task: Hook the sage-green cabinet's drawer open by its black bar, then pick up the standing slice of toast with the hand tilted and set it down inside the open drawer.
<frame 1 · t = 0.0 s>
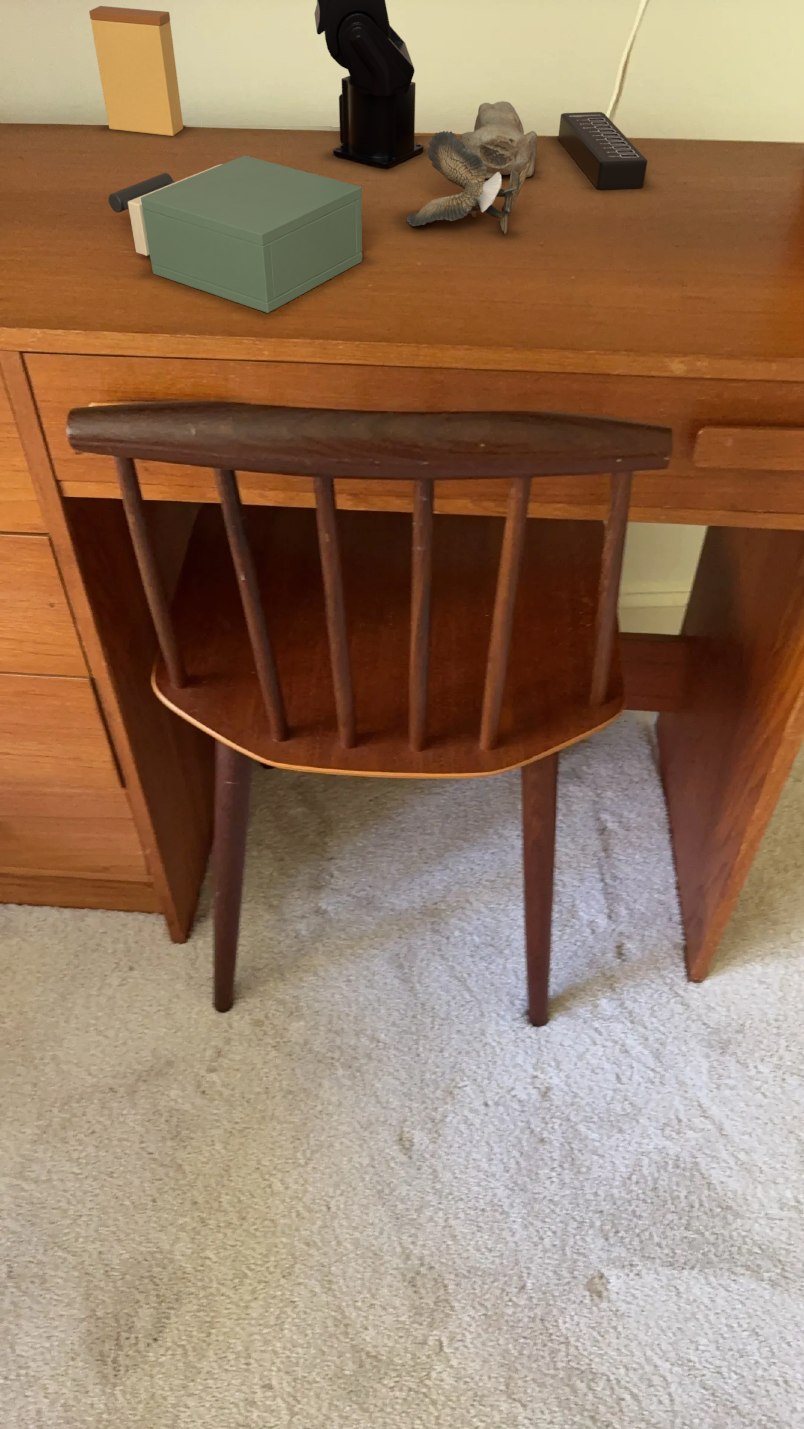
sculpture: (494, 163, 99), on the table
eagle figurine: (462, 227, 88), on the table
toast: (146, 128, 104), on the table
cabinet: (259, 267, 81), on the table
multiport hub: (598, 164, 99), on the table
drawer: (206, 215, 81), point 3 cm above the table, slide at 1.0 cm
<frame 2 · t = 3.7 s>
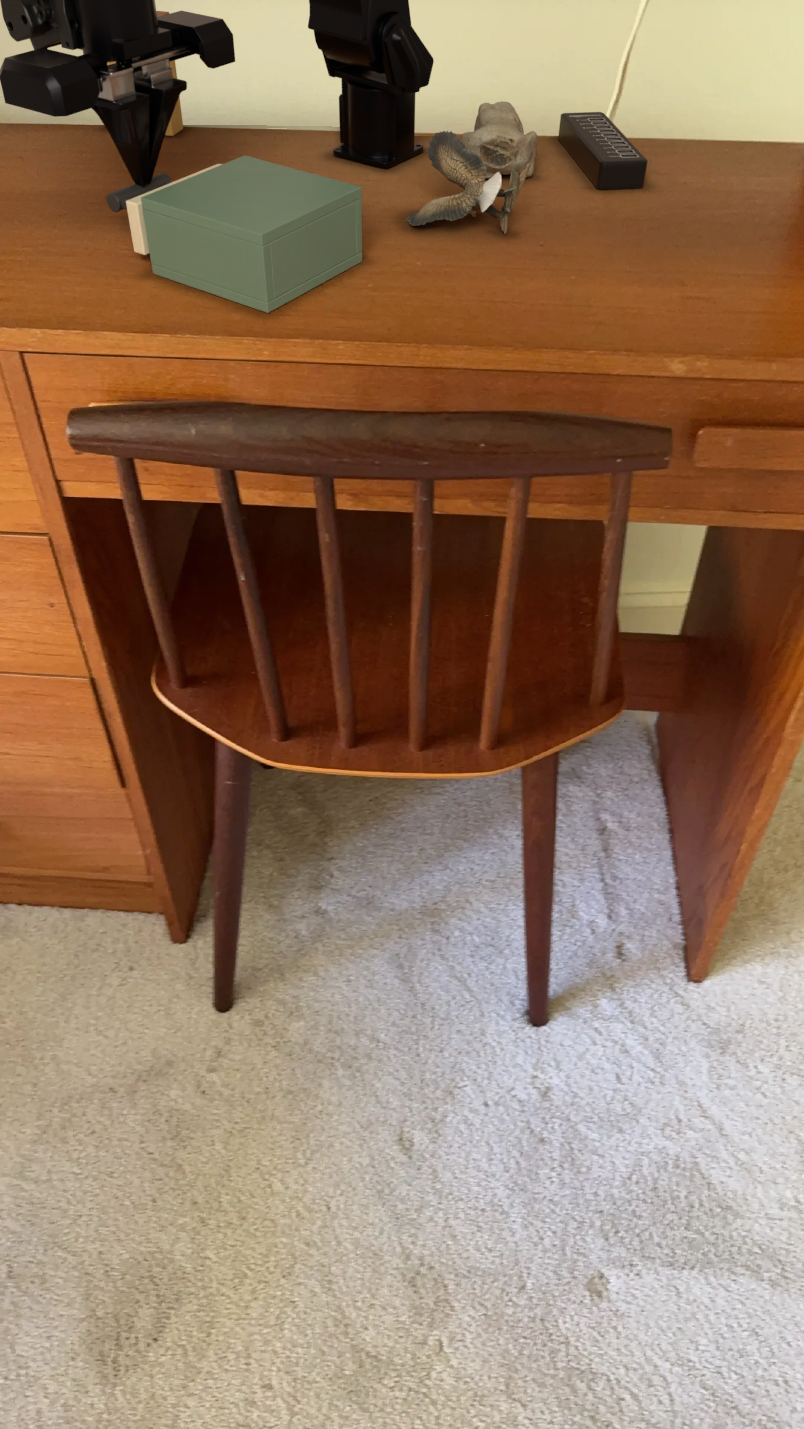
hand: (142, 183, 83), 4 cm above the table, tool pointing down, fingers closed, pressing on drawer
drawer: (204, 214, 81), point 3 cm above the table, slide at 1.2 cm, touching gripper
everything else where it was.
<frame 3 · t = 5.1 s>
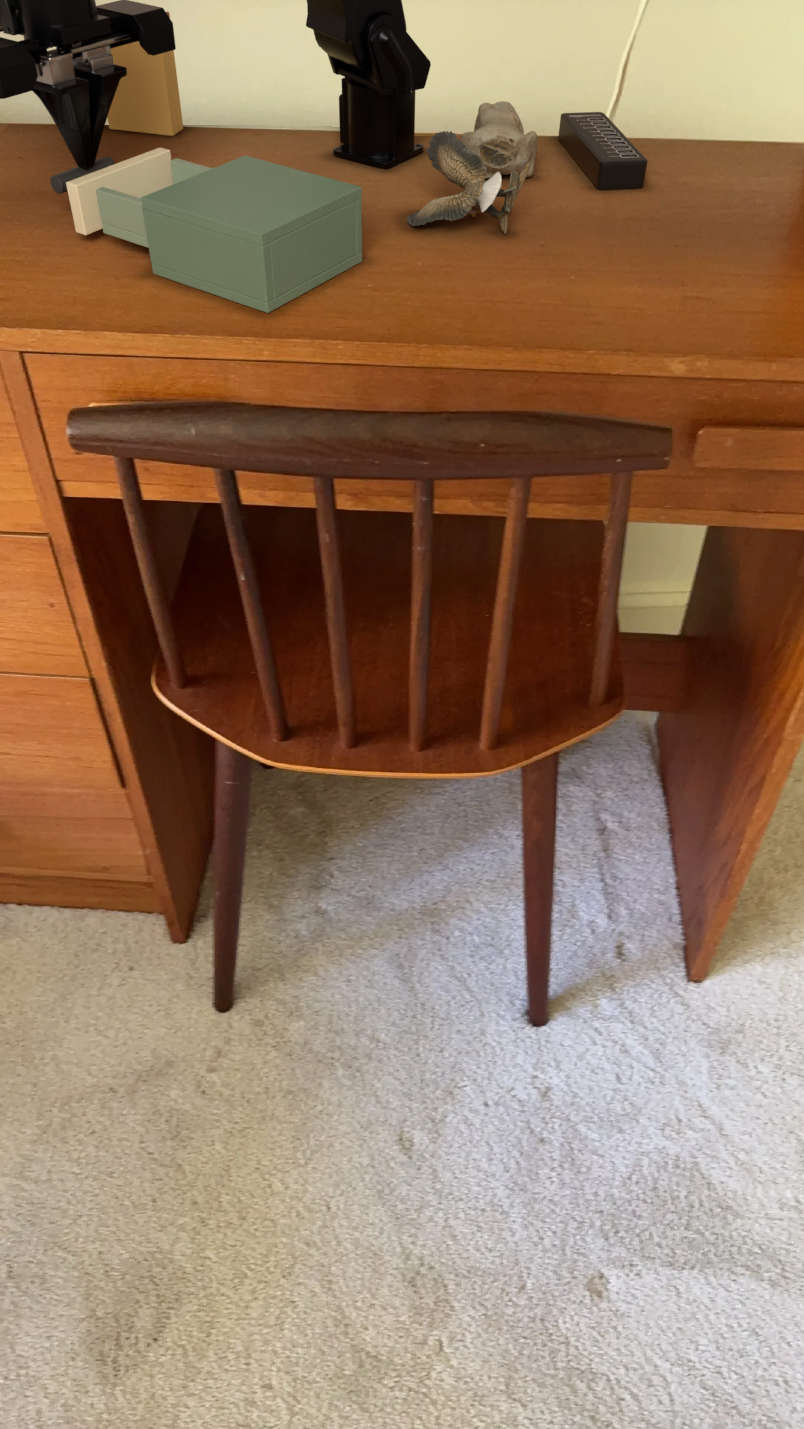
hand: (85, 167, 86), 4 cm above the table, tool pointing down, fingers closed, pressing on drawer
drawer: (144, 196, 84), point 3 cm above the table, slide at 7.7 cm, touching gripper
everything else where it was.
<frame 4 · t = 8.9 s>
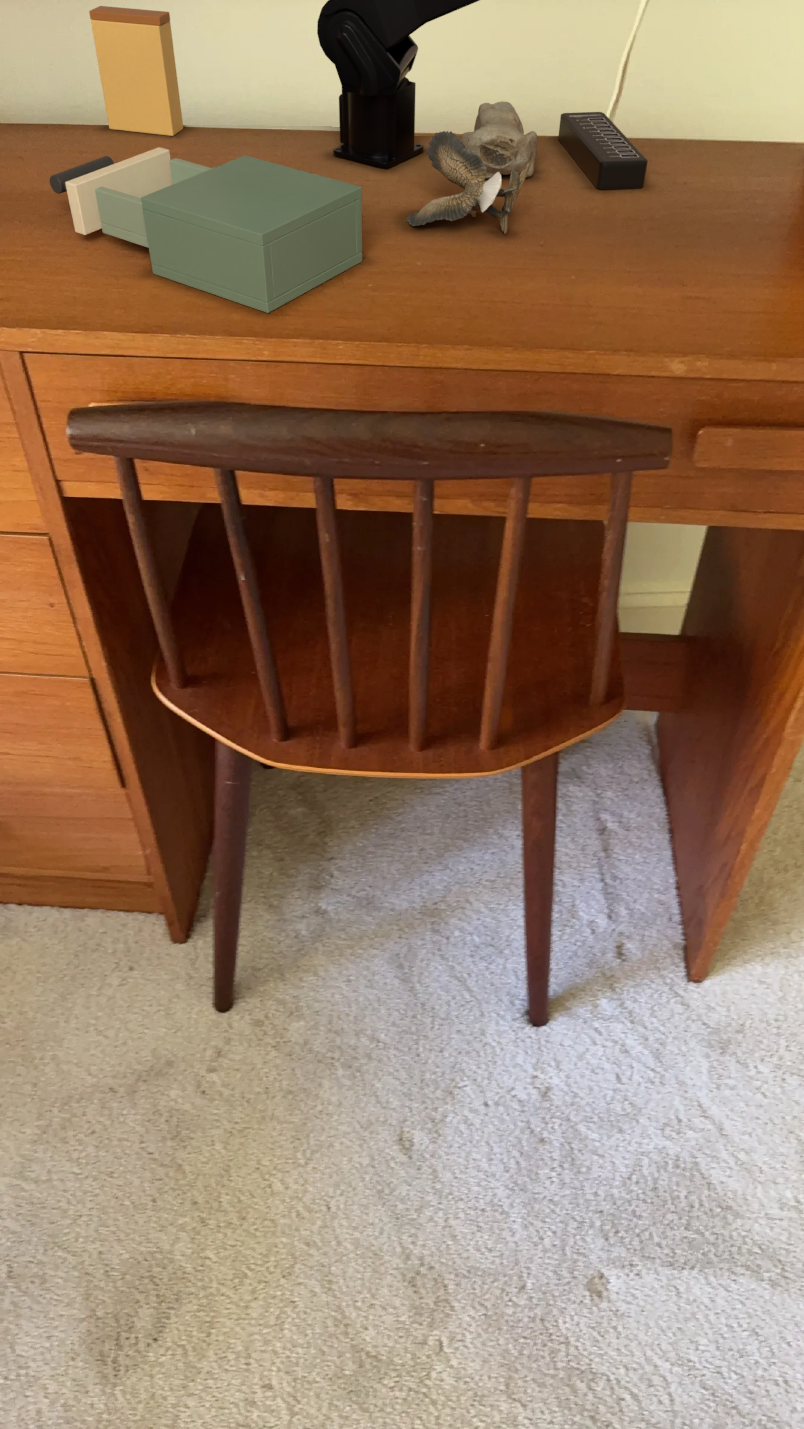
drawer: (143, 196, 84), point 3 cm above the table, slide at 7.8 cm
everything else where it was.
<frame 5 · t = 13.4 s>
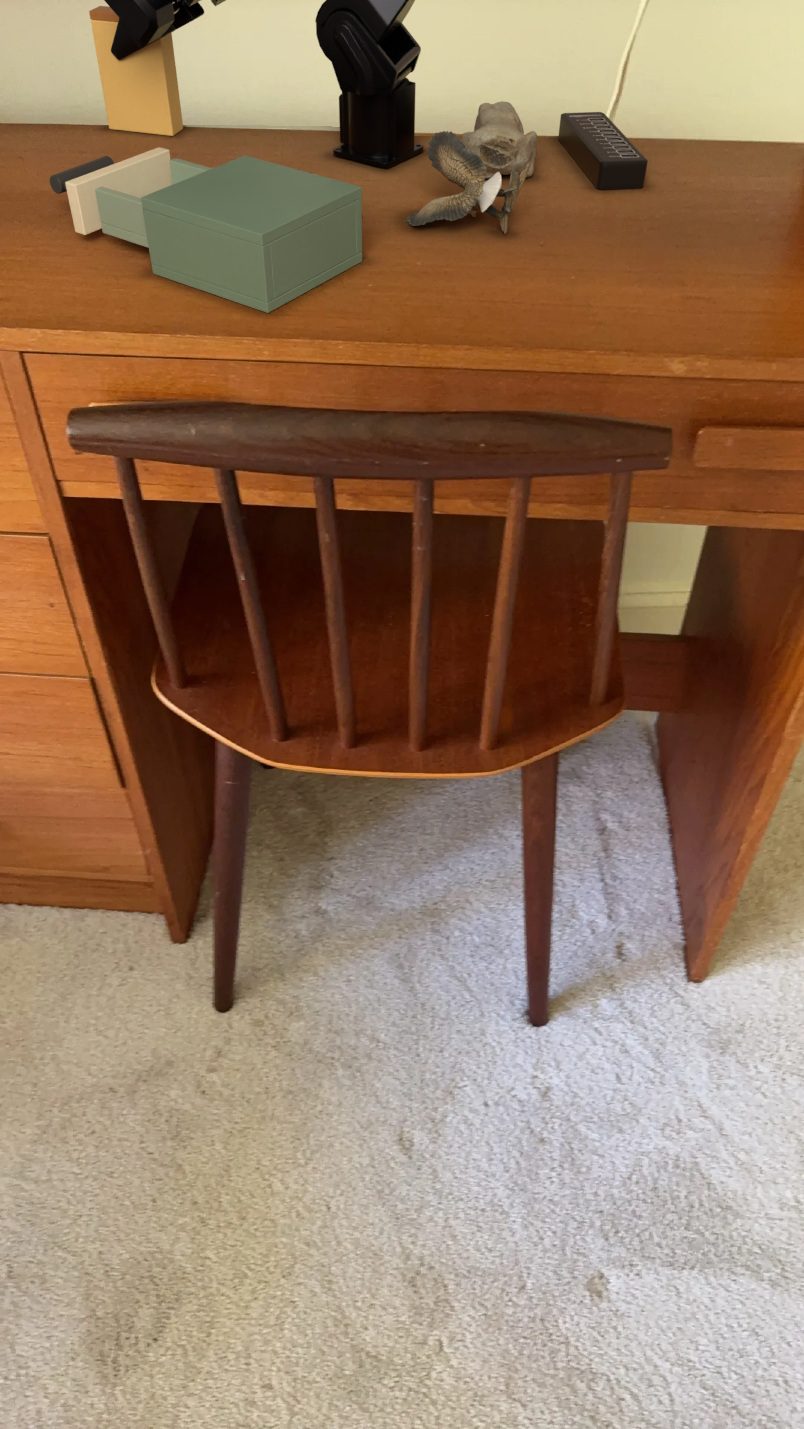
hand: (122, 51, 100), 7 cm above the table, tool tilted 45°, fingers closed on toast, 2 cm apart
toast: (146, 128, 104), on the table, touching gripper
everything else where it was.
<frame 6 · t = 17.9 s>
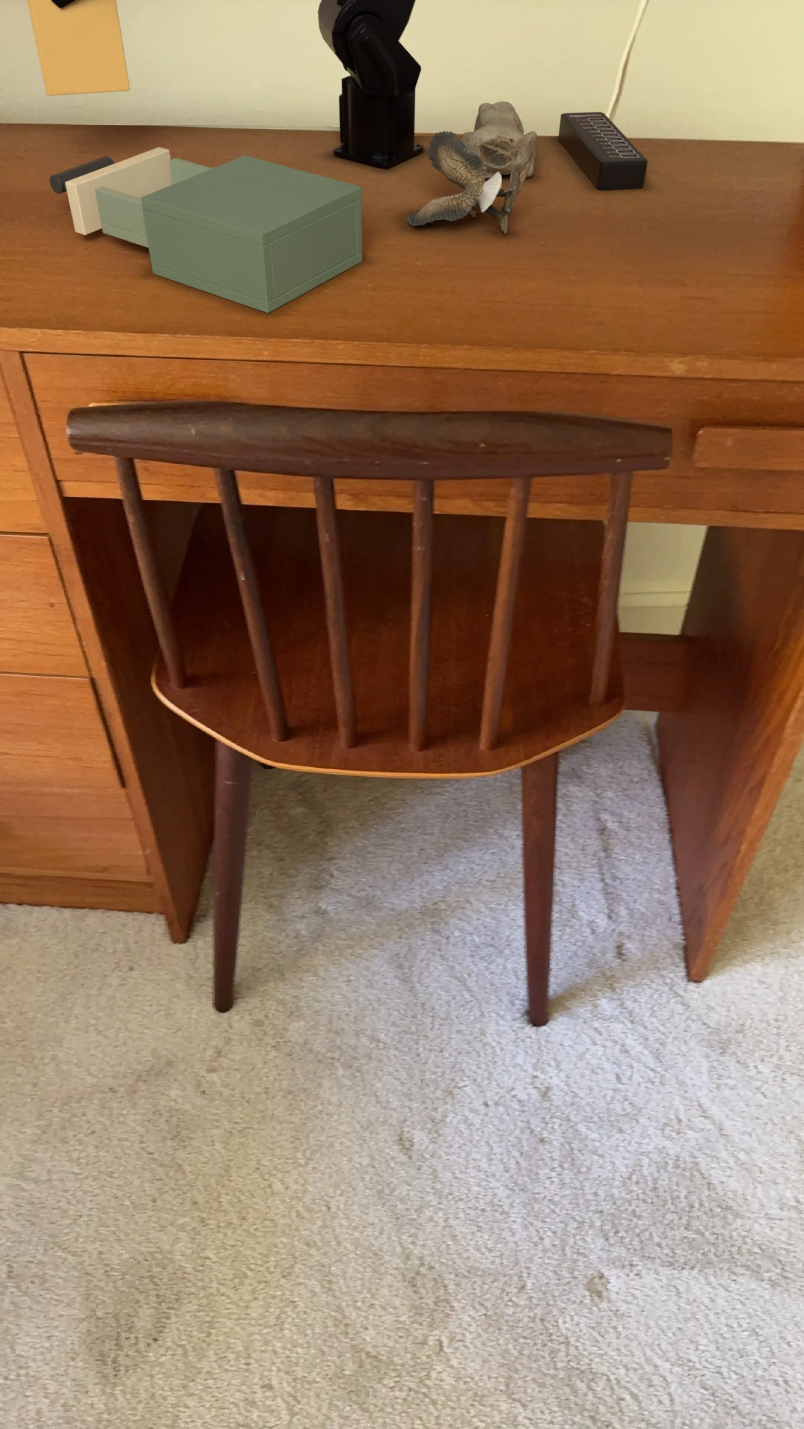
toast: (88, 89, 90), point 7 cm above the table, touching gripper
everything else where it was.
when the fingers open (9 cm above the table, at t = 22.8 s): toast stays where it is, resting on drawer.
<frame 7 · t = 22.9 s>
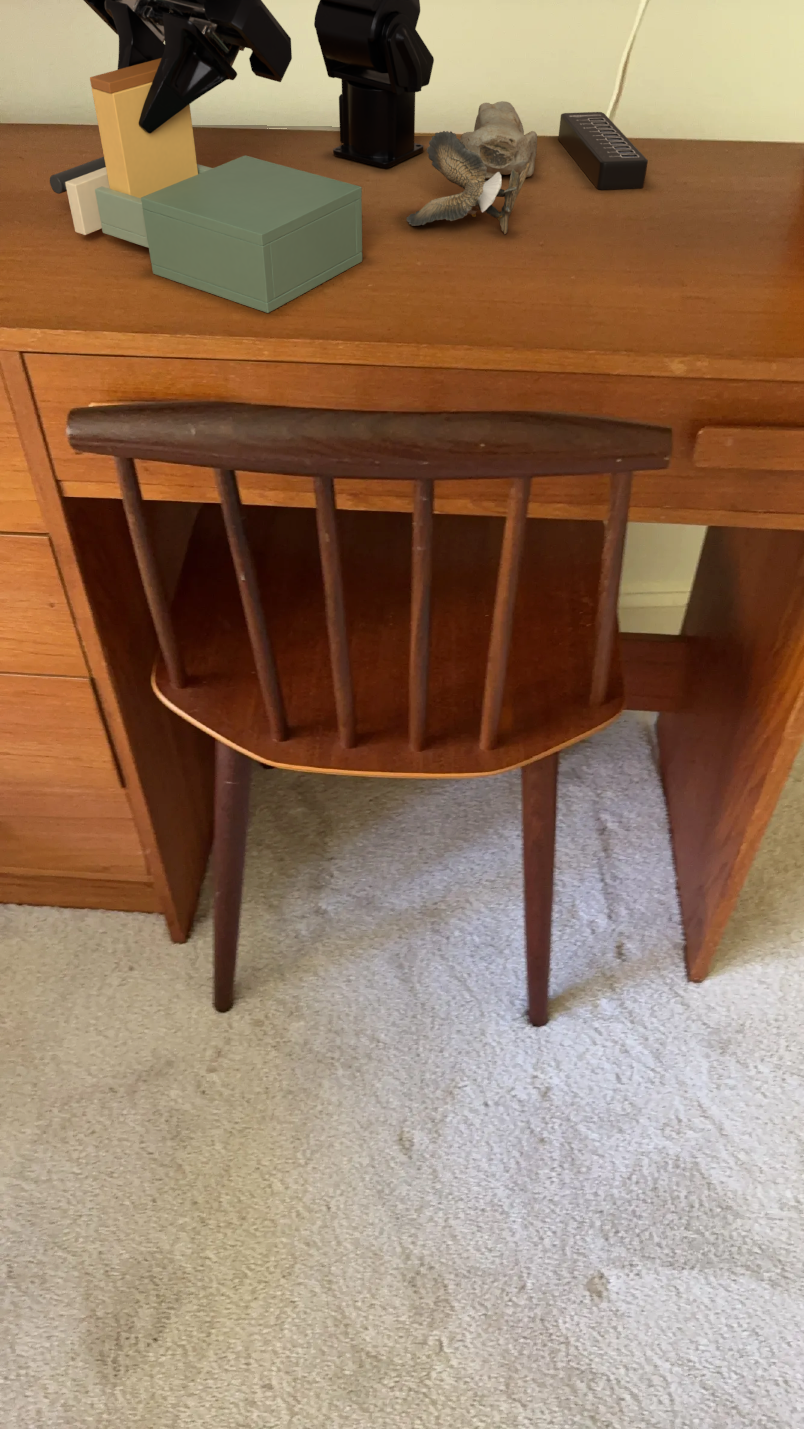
hand: (131, 125, 78), 9 cm above the table, tool tilted 45°, fingers open, 3 cm apart
toast: (159, 210, 84), point 2 cm above the table, touching drawer
drawer: (143, 196, 84), point 3 cm above the table, slide at 7.8 cm, touching toast
everything else where it was.
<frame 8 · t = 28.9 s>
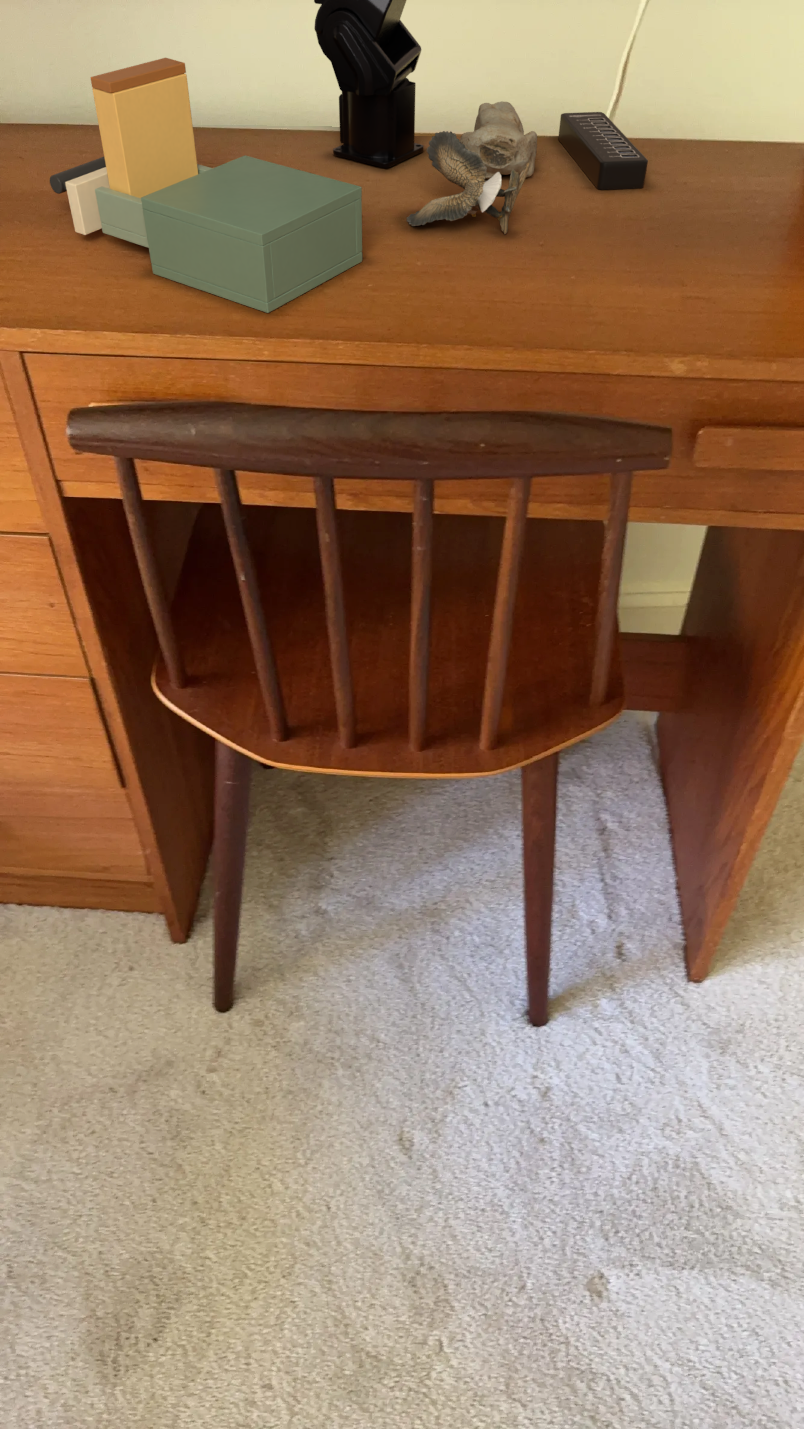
nothing on the table moved.
at the end: drawer slide at 7.8 cm; toast inside the target area in the drawer (0.4 cm from its centre), point 2.0 cm above the cabinet's base; the gripper is holding nothing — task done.
